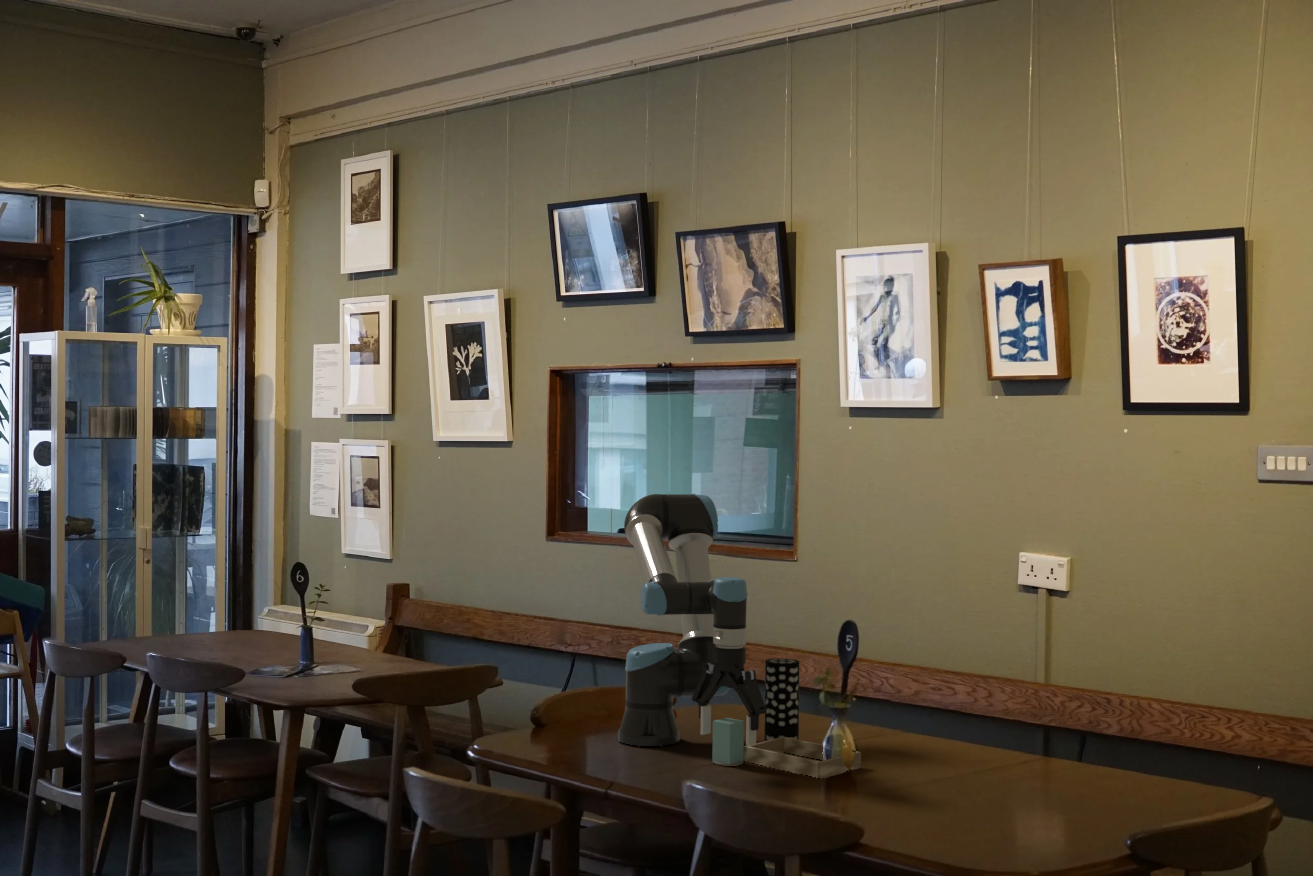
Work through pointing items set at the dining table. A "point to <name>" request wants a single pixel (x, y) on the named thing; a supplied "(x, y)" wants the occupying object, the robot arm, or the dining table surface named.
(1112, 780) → the dining table surface
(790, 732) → the white-spotted black cylinder
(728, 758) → the block
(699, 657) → the robot arm
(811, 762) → the tray
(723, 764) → the coaster
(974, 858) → the dining table surface
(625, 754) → the dining table surface
